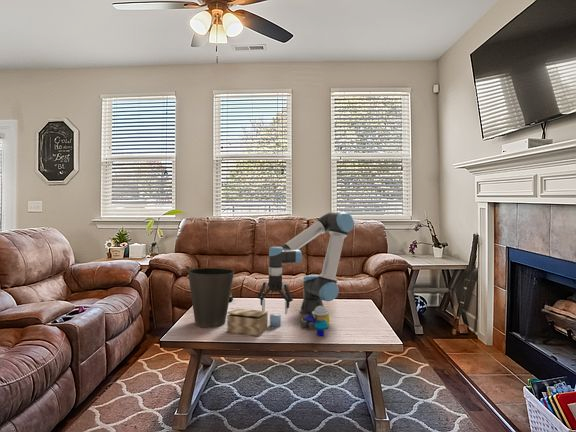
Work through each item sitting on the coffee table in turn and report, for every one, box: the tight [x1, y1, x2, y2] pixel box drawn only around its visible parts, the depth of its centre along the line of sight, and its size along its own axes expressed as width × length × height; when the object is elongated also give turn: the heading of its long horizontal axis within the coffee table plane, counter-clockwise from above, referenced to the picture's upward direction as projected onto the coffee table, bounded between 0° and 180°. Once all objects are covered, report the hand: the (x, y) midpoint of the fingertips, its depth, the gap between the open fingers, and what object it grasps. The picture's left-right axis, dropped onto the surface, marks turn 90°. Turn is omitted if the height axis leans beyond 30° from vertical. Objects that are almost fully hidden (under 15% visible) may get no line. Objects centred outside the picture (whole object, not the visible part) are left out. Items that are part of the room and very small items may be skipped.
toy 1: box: [300, 310, 330, 330], centre depth 205 cm, size 14×7×15 cm
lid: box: [227, 307, 268, 317], centre depth 195 cm, size 18×12×1 cm, turn 72°
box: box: [226, 313, 269, 338], centre depth 195 cm, size 18×12×9 cm, turn 72°
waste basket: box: [187, 267, 235, 329], centre depth 207 cm, size 27×20×30 cm
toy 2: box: [312, 306, 330, 337], centre depth 190 cm, size 8×9×15 cm
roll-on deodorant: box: [269, 313, 282, 328], centre depth 204 cm, size 6×6×6 cm
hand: (274, 312), depth 204 cm, fingers open, 13 cm apart
